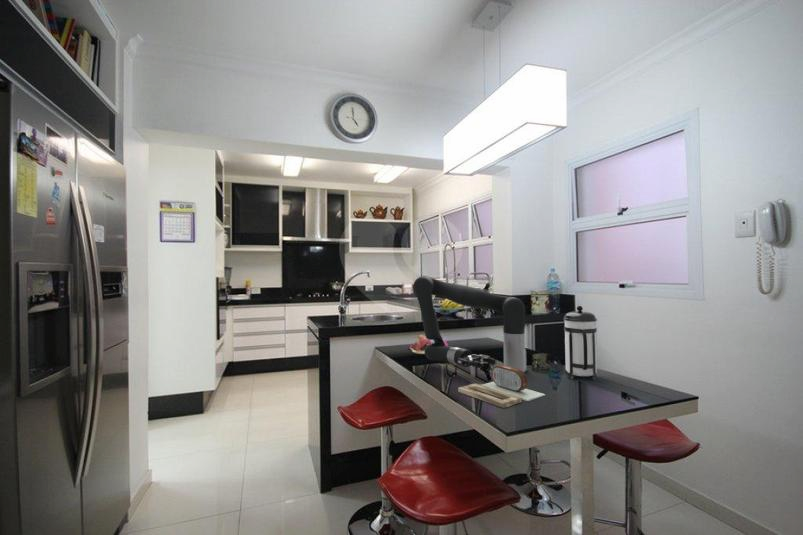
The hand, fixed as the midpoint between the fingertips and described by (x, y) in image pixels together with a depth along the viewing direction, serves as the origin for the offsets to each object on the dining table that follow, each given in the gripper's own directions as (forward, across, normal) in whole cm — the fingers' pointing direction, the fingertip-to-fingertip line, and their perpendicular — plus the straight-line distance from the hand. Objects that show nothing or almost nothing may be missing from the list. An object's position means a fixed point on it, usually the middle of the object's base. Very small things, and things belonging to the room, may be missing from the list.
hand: (487, 363), depth 150 cm
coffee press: (+18, +38, +8) cm, 43 cm away
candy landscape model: (-68, +25, +9) cm, 73 cm away
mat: (+12, 0, +8) cm, 14 cm away
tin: (+11, 0, +8) cm, 13 cm away
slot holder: (+11, -12, +8) cm, 18 cm away
